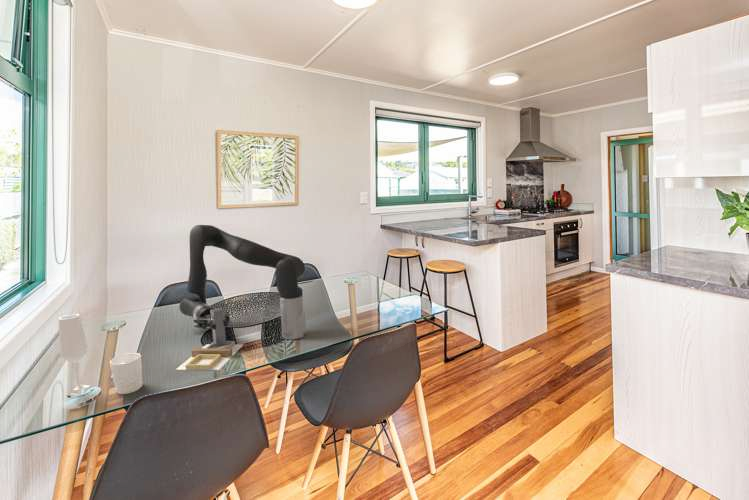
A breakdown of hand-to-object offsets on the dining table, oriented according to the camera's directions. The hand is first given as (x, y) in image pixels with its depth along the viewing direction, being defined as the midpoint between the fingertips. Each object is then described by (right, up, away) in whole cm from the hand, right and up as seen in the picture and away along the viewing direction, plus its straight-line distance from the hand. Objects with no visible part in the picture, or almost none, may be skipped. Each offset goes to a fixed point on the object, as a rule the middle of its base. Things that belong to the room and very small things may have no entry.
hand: (220, 325), depth 132 cm
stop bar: (-2, -8, +3) cm, 9 cm away
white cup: (-19, -15, -21) cm, 32 cm away
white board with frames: (-2, -12, -2) cm, 12 cm away
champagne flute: (-33, -16, -23) cm, 43 cm away
